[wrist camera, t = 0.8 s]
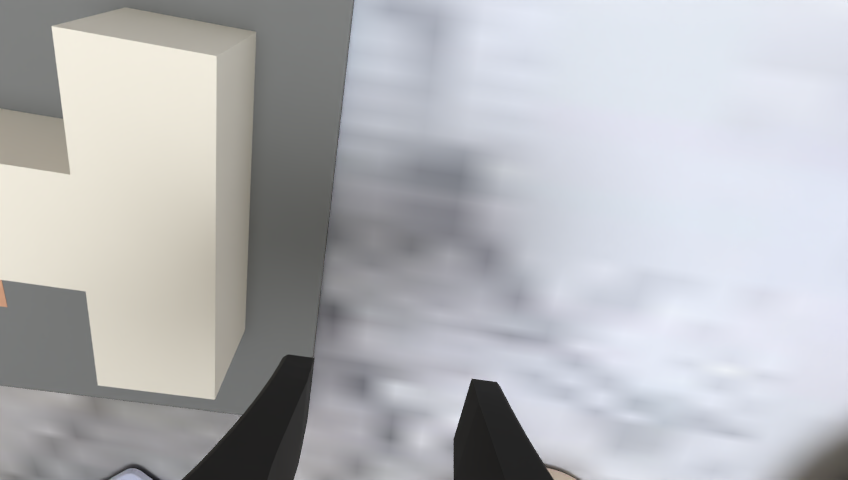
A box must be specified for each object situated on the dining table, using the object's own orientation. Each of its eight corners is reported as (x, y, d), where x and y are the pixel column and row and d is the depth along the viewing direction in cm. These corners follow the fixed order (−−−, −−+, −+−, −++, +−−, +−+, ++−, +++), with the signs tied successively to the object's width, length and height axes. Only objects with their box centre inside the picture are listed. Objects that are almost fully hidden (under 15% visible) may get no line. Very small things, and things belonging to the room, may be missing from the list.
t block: (256, 31, 18) (216, 56, 14) (245, 329, 23) (214, 399, 20) (-155, -46, 16) (-310, -40, 13) (-62, 288, 22) (-152, 354, 19)
